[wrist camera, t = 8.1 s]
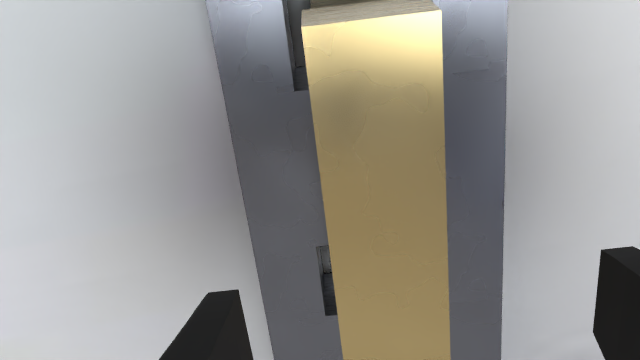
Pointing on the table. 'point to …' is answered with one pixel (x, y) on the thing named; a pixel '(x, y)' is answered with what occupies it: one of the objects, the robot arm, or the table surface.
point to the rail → (305, 185)
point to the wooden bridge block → (382, 172)
